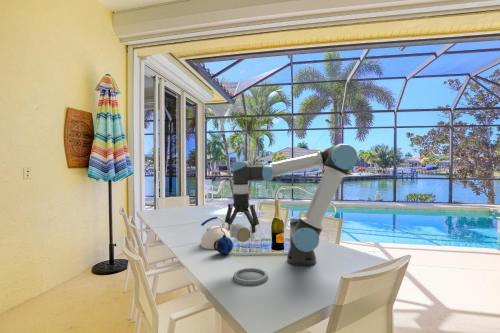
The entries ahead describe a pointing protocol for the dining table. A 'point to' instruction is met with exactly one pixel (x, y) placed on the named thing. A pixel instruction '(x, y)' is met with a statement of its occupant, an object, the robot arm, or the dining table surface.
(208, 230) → the kettle
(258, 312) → the dining table surface
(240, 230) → the ceramic mug
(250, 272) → the ring coaster
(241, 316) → the dining table surface
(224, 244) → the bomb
